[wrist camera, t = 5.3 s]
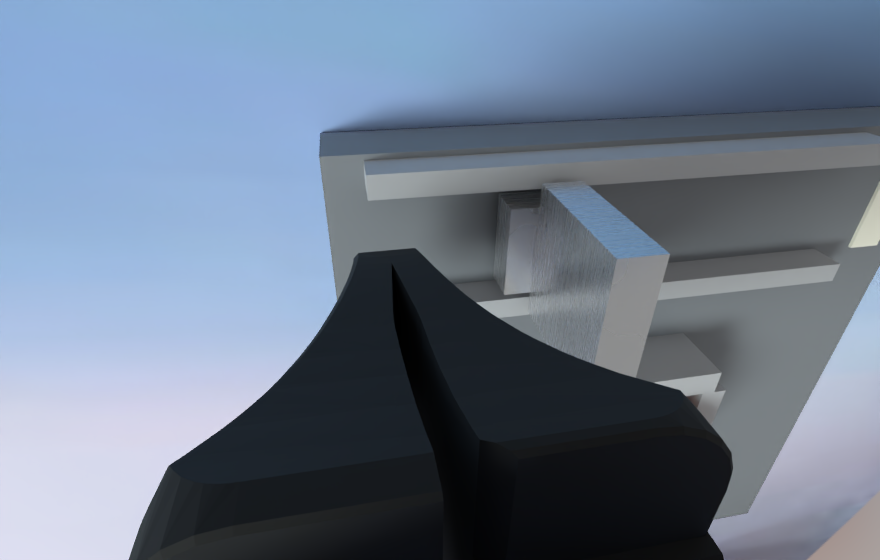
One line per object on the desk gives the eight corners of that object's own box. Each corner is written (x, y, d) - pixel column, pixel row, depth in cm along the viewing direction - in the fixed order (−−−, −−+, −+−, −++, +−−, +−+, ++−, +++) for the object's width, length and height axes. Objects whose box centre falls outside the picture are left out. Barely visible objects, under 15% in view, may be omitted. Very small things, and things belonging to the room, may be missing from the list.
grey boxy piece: (571, 285, 15) (658, 398, 11) (491, 293, 14) (552, 413, 10) (592, 165, 13) (706, 250, 9) (500, 170, 12) (578, 262, 9)
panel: (720, 478, 26) (778, 553, 23) (369, 540, 23) (376, 636, 20) (891, 105, 16) (1038, 141, 13) (320, 133, 13) (317, 188, 10)
